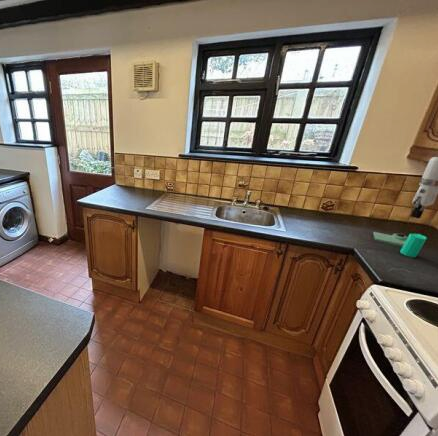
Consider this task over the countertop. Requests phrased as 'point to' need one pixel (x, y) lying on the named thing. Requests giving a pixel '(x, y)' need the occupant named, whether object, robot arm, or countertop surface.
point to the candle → (413, 245)
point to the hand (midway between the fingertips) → (415, 217)
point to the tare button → (400, 234)
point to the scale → (390, 239)
